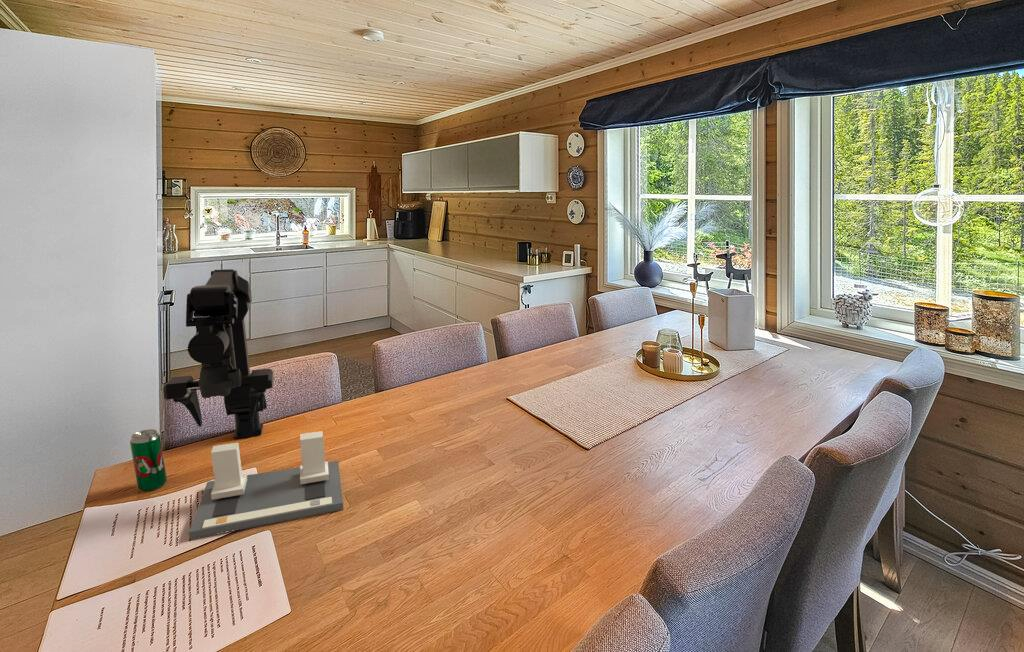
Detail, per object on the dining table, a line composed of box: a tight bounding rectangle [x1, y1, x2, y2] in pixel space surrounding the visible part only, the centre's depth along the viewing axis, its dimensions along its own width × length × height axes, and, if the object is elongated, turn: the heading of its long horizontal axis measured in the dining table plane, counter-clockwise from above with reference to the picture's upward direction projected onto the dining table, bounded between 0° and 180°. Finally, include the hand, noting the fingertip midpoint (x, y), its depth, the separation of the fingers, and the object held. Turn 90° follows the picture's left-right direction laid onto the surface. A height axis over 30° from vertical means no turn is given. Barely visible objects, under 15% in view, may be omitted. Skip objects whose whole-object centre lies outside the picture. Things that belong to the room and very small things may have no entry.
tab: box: [299, 430, 329, 484], centre depth 105 cm, size 6×6×9 cm
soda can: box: [129, 429, 168, 492], centre depth 103 cm, size 5×5×12 cm
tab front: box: [210, 442, 248, 500], centre depth 99 cm, size 6×6×9 cm
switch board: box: [188, 460, 344, 540], centre depth 101 cm, size 18×26×2 cm
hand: (226, 422), depth 102 cm, fingers open, 9 cm apart
